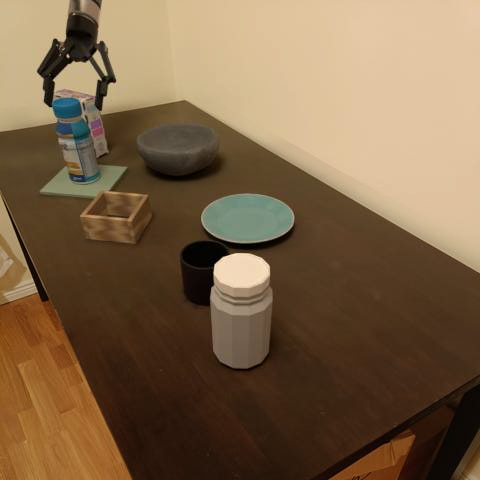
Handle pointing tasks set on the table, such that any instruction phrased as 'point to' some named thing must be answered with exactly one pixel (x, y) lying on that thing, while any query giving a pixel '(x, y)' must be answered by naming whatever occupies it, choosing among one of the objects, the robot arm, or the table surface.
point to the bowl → (178, 147)
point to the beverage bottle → (75, 141)
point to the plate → (247, 218)
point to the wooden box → (113, 227)
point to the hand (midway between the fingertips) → (72, 106)
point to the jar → (241, 310)
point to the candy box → (89, 119)
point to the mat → (66, 187)
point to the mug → (200, 268)
